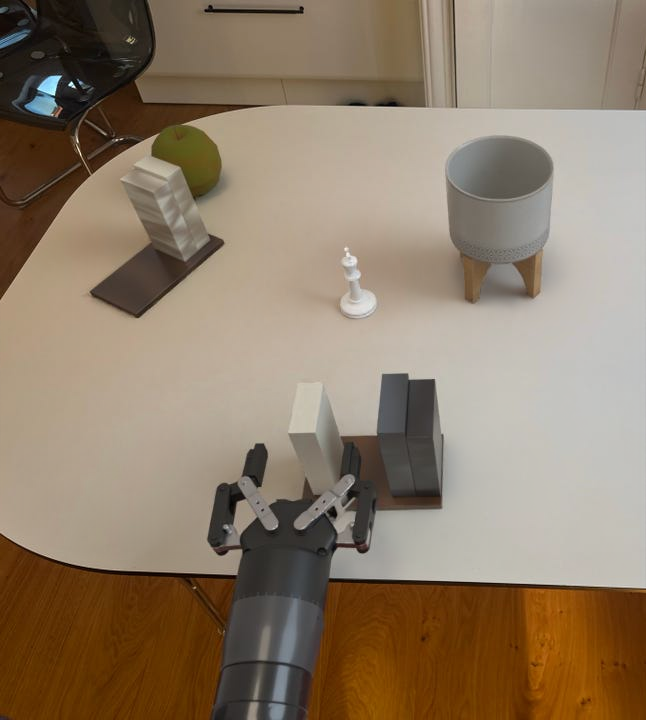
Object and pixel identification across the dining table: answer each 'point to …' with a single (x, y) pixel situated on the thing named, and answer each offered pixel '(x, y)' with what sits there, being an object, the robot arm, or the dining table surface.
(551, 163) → the planter
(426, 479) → the grey book stand
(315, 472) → the white book
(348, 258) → the chess piece
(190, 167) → the apple
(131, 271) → the white book stand
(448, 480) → the dining table surface
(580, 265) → the dining table surface
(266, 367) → the dining table surface
